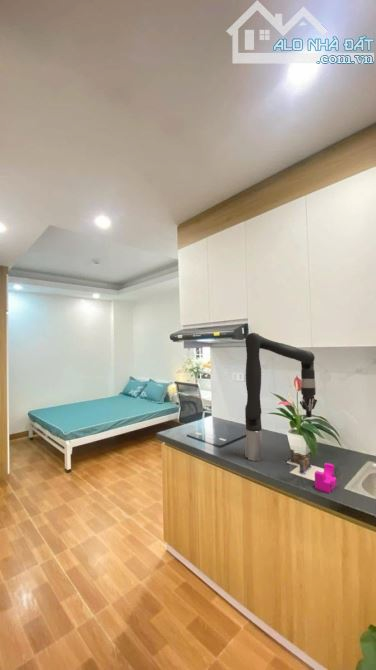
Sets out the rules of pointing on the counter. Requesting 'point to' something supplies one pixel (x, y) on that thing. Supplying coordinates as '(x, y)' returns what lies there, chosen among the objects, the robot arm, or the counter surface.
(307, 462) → the fence panel
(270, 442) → the counter surface
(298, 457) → the fence fixed
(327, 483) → the toy block
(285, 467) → the counter surface
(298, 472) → the card
